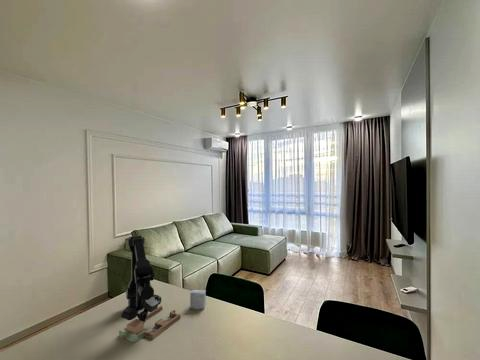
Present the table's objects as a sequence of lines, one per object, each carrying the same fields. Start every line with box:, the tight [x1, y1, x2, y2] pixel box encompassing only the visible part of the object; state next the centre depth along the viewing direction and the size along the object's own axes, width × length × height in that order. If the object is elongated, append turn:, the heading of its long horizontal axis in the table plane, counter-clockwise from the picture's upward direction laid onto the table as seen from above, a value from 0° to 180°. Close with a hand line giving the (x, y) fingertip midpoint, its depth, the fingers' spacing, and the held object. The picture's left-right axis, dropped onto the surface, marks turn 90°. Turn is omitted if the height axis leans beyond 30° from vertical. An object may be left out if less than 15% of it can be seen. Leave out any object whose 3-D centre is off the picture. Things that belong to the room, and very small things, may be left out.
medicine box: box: [189, 289, 207, 310], centre depth 128 cm, size 8×4×9 cm, turn 84°
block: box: [126, 318, 145, 335], centre depth 104 cm, size 5×5×5 cm
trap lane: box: [118, 305, 182, 344], centre depth 111 cm, size 16×25×2 cm, turn 154°
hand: (142, 324), depth 108 cm, fingers closed
